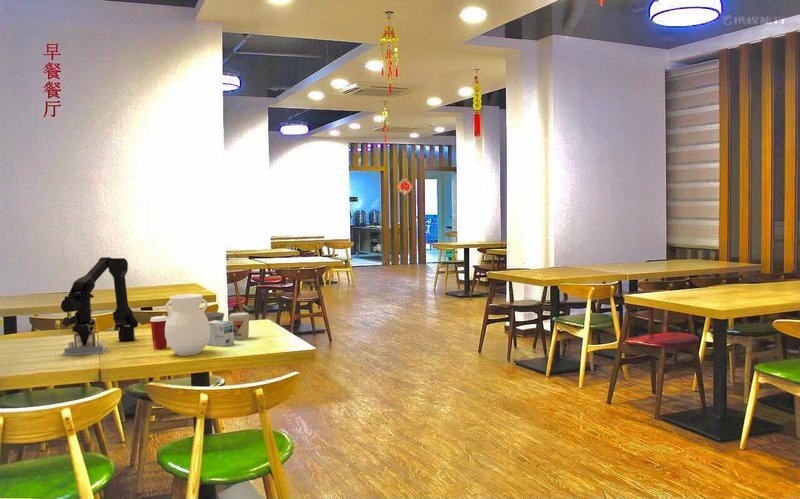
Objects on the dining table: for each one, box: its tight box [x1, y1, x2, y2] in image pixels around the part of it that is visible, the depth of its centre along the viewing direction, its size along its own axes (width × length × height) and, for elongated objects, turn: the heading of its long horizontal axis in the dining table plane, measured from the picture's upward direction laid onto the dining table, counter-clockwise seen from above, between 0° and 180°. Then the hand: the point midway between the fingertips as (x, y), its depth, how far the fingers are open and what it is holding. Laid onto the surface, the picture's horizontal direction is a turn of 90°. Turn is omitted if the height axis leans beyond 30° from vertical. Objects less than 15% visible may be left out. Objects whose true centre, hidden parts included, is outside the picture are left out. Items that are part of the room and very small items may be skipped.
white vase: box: [164, 293, 210, 357], centre depth 289 cm, size 19×18×25 cm
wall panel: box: [62, 339, 108, 357], centre depth 298 cm, size 16×11×5 cm
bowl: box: [204, 311, 225, 321], centre depth 338 cm, size 21×21×10 cm
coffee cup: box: [228, 312, 250, 341], centre depth 322 cm, size 9×9×12 cm
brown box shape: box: [73, 332, 97, 348], centre depth 297 cm, size 8×3×7 cm, turn 105°
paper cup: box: [149, 315, 168, 351], centre depth 303 cm, size 8×8×14 cm
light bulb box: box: [206, 320, 235, 348], centre depth 308 cm, size 11×7×11 cm, turn 65°
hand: (85, 344), depth 297 cm, fingers open, 3 cm apart
